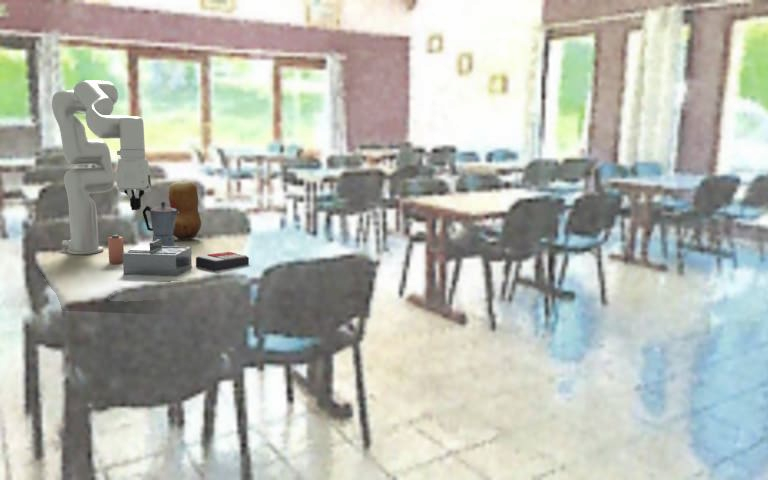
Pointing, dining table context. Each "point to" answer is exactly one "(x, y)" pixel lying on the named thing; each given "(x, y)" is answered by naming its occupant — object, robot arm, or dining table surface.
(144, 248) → the guard cover
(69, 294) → the dining table surface
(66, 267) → the dining table surface
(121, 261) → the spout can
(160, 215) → the moka pot
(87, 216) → the robot arm
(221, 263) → the calculator
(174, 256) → the grey metal box
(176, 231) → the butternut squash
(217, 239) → the dining table surface
